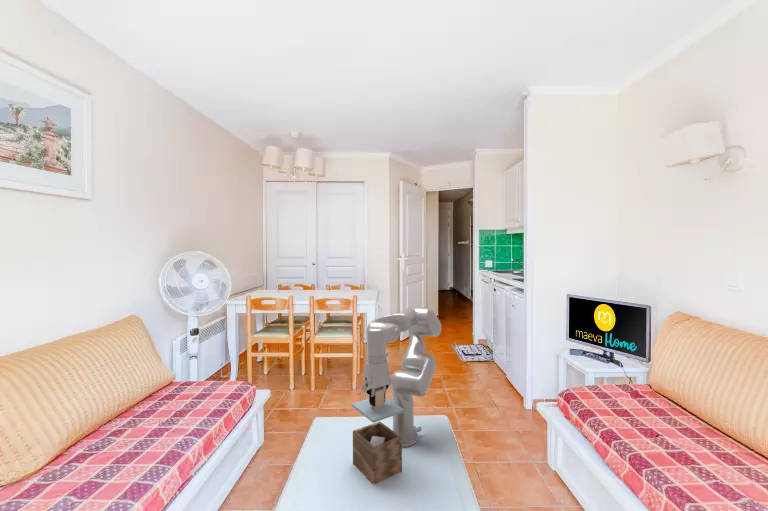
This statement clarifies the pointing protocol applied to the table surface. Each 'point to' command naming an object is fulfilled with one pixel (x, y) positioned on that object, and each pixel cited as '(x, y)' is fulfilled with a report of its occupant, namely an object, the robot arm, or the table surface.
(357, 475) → the table surface
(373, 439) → the small box
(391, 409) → the lid
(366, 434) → the crate
